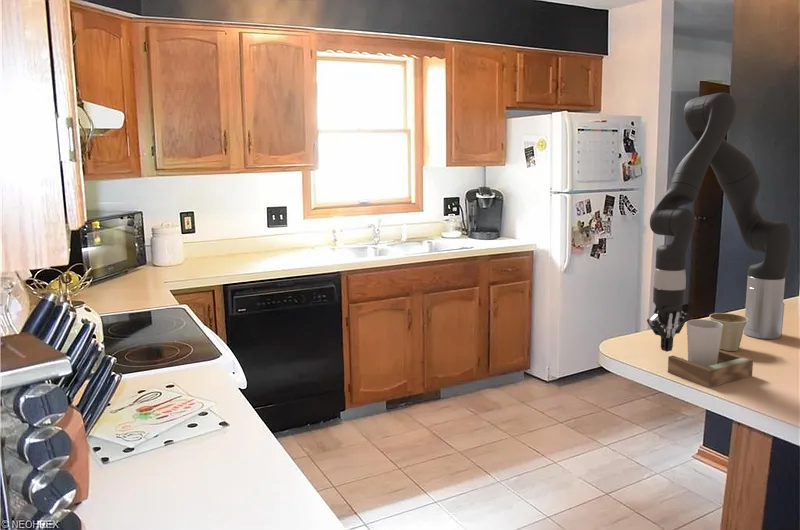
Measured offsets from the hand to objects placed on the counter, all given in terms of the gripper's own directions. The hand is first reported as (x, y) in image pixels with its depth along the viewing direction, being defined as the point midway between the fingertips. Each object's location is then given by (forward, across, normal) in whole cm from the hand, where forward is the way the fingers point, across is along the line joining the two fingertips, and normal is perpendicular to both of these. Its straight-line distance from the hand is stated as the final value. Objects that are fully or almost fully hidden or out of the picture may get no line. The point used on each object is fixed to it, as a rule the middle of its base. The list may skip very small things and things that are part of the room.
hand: (666, 350), depth 160 cm
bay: (+2, 0, +13) cm, 13 cm away
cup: (+2, 0, +10) cm, 11 cm away
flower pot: (+3, -21, +2) cm, 21 cm away
